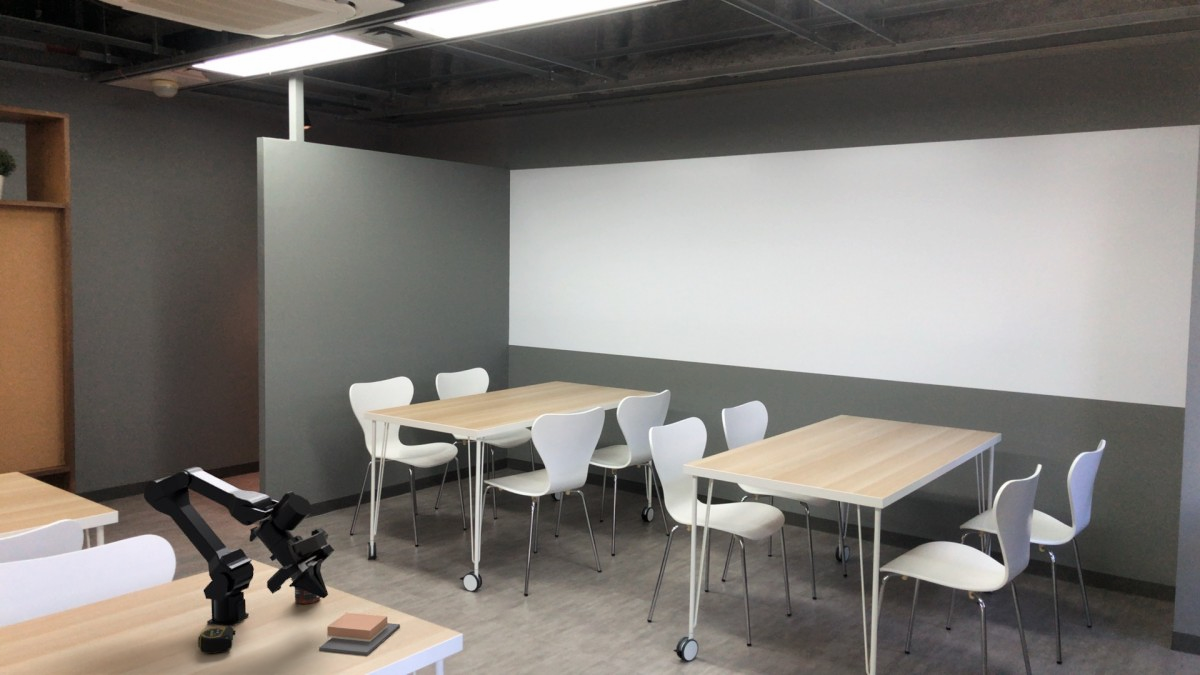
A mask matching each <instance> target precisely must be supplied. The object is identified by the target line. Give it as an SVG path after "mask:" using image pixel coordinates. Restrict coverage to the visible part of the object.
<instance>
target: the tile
mask: <svg viewBox="0 0 1200 675" xmlns="http://www.w3.org/2000/svg"><path fill="white" fill-rule="evenodd" d="M387 623H388V616H387V615H375V614H365V613H355V612H354V613H353V612H345V613H343V614H342V615H341V616H340V617H338V618H337V619H335V620H333V622H332V623H330V624H328V625H327V627H326V628H327V629H326V630H327V632H326V633H327V638H329V639H331V638H338V639H349V640H359V641H369V642H370V641H371V640H373V639H374V638H375V637H376V636H377V635H379V634H380V633H381V632H382V631H383V630H384V629H386V628H387Z"/></svg>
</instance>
